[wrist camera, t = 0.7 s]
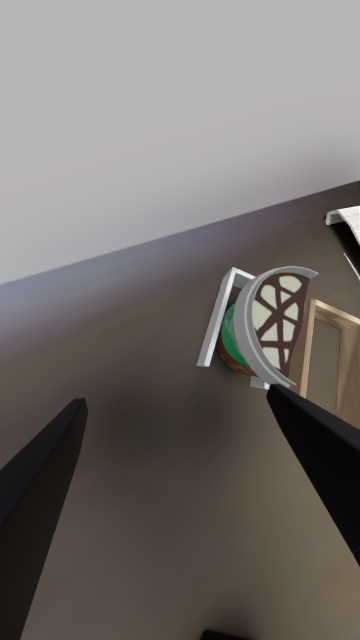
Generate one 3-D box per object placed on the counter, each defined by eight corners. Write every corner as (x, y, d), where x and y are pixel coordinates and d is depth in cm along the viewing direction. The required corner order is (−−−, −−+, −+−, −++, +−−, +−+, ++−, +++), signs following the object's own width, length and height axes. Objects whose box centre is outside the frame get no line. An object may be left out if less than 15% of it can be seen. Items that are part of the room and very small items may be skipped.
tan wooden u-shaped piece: (345, 327, 30) (366, 322, 27) (340, 424, 25) (366, 431, 22) (294, 304, 29) (311, 297, 26) (279, 401, 24) (298, 405, 21)
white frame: (271, 298, 28) (285, 290, 25) (253, 387, 24) (268, 389, 21) (223, 277, 27) (232, 266, 25) (196, 365, 23) (204, 365, 20)
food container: (222, 284, 27) (266, 239, 18) (258, 303, 28) (320, 269, 18) (190, 362, 23) (225, 357, 14) (232, 383, 24) (294, 391, 14)
